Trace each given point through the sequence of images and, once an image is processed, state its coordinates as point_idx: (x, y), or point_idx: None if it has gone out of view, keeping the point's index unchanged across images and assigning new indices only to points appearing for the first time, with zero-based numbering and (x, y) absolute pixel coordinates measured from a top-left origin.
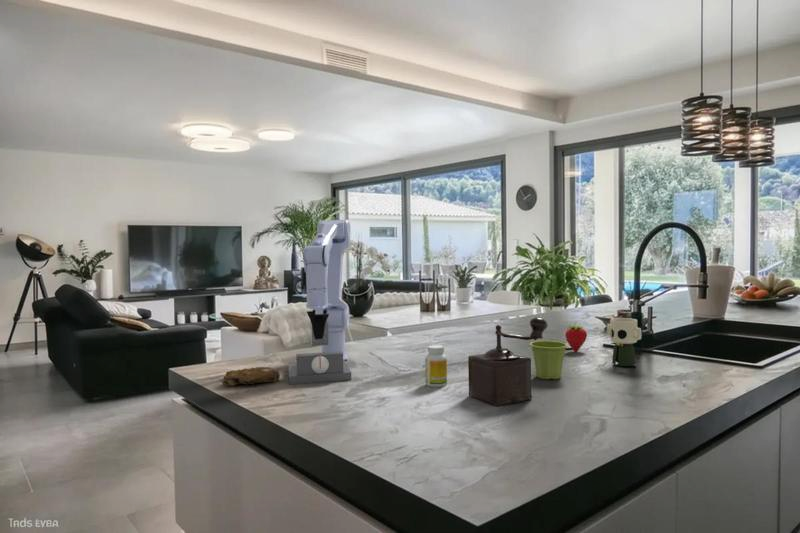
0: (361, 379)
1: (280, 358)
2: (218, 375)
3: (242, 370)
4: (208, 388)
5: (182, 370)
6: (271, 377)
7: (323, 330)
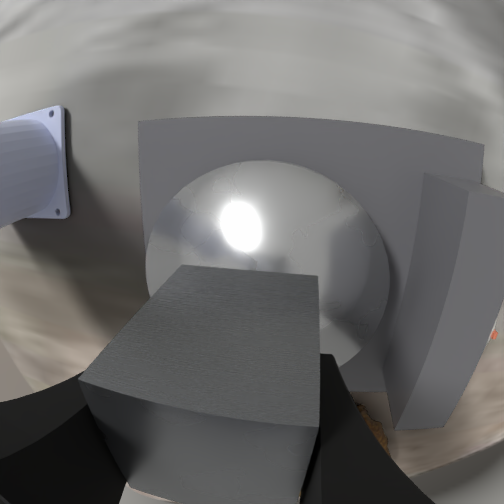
0: (470, 99)
1: (30, 333)
2: None
3: None
4: None
5: None
6: (381, 428)
7: (352, 406)
